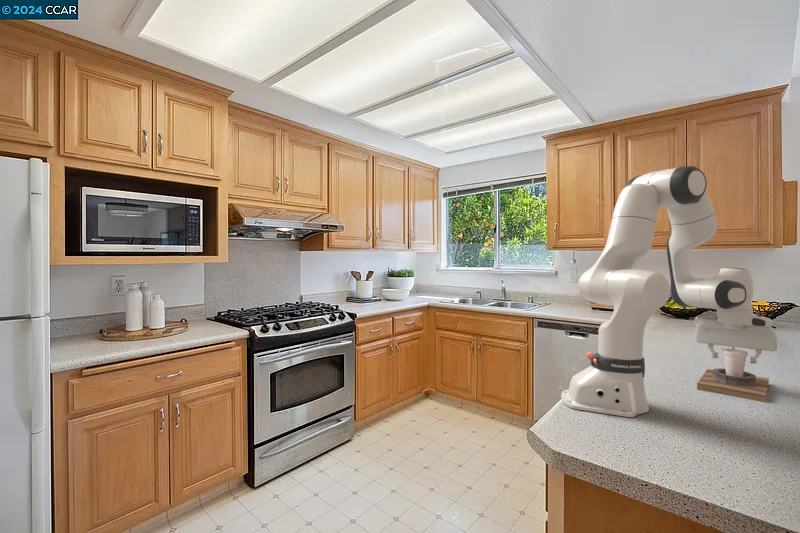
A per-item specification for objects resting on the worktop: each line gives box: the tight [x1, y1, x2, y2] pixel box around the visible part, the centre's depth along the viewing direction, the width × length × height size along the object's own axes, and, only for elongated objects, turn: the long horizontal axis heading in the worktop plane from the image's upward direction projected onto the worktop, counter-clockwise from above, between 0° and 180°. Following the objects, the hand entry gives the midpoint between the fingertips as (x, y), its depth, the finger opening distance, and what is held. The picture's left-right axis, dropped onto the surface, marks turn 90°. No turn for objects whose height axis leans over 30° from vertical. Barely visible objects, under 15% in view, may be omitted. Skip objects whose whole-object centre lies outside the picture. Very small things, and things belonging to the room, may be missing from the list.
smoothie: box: [721, 347, 749, 377], centre depth 126 cm, size 6×6×14 cm
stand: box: [696, 368, 770, 403], centre depth 126 cm, size 22×16×4 cm
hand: (733, 360), depth 126 cm, fingers open, 8 cm apart
